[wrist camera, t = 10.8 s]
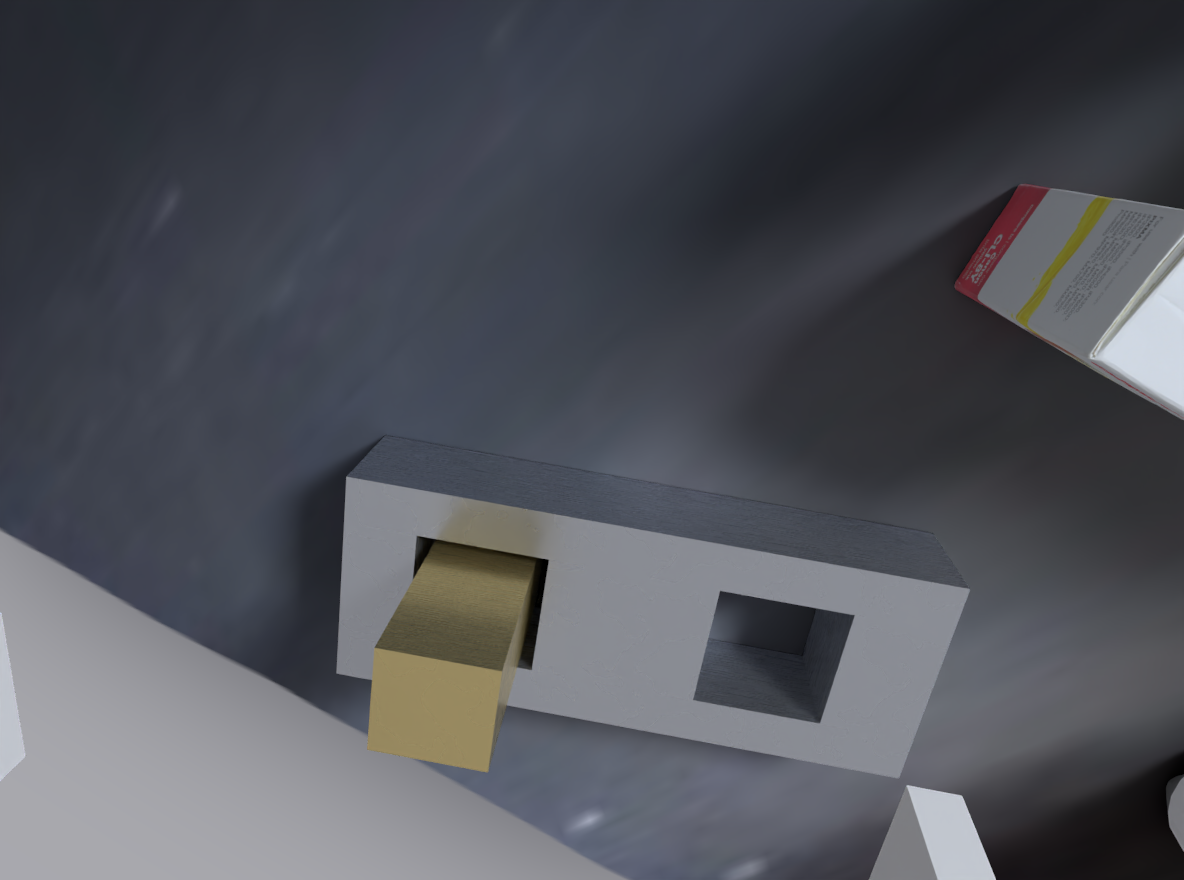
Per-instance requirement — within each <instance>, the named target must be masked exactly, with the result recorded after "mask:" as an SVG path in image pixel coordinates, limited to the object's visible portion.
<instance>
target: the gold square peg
mask: <svg viewBox="0 0 1184 880" xmlns="http://www.w3.org/2000/svg"><path fill="white" fill-rule="evenodd" d="M542 561H543V559H542V558H537V557H531V556H526V555H520V554H515V553H509V552H504V551H498V550H493V549H487V548H482V547H476V546H471V545H465V544H460V543H454V542H449V541H443V540H438V539H436V541H435V542H434V544H433V546H432V548H431V549H430V551H429V553H428V555H427V556H426V558H425V560H424V562H423V563H422V565H421V567H420V569H419V570H418V572H417V574H416V576H415V577H414V579H413V581H412V583H411V584H410V586H409V588H408V590H407V591H406V593H405V595H404V597H403V598H402V600H401V602H400V604H399V605H398V607H397V609H396V611H395V612H394V614H393V616H392V618H391V619H390V621H389V623H388V625H387V626H386V628H385V630H384V632H383V633H382V635H381V637H380V639H379V640H378V642H377V644H376V646H375V647H374V660H373V674H372V688H371V703H370V717H369V731H368V746H367V749H368V750H372V751H377V752H382V753H388V754H393V755H398V756H404V757H409V758H414V759H419V760H425V761H430V762H435V763H441V764H446V765H451V766H457V767H462V768H467V769H473V770H478V771H483V772H488V770H489V767H490V763H491V760H492V756H493V752H494V749H495V745H496V742H497V738H498V735H499V731H500V727H501V724H502V720H503V717H504V713H505V710H506V706H507V702H508V699H509V695H510V692H511V688H512V685H513V681H514V678H515V674H516V670H517V667H518V663H519V660H520V656H521V653H522V649H523V645H524V642H525V638H526V635H527V631H528V628H529V624H530V620H531V617H532V613H533V610H534V606H535V603H536V599H537V594H538V587H539V581H540V574H541V567H542Z"/></svg>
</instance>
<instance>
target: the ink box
mask: <svg viewBox="0 0 1184 880" xmlns="http://www.w3.org/2000/svg"><path fill="white" fill-rule="evenodd" d="M955 289H956V290H957V291H959V292H961V293H962V294H964V295H966V296H968V297H970V298H971V299H973V300H975V301H976V302H978V303H980V304H982V305H983V306H985V307H987V308H989V309H990V310H992V311H994V312H996V313H997V314H999V315H1001V316H1003V317H1004V318H1006V319H1008V320H1009V321H1011V322H1013V323H1014V324H1016V325H1018V326H1019V327H1021V328H1023V329H1024V330H1026V331H1028V332H1029V333H1031V334H1033V335H1034V336H1036V337H1038V338H1040V339H1041V340H1043V341H1045V342H1046V343H1048V344H1050V345H1052V346H1053V347H1055V348H1057V349H1058V350H1060V351H1062V352H1063V353H1065V354H1067V355H1069V356H1070V357H1072V358H1074V359H1075V360H1077V361H1079V362H1081V363H1082V364H1084V365H1086V366H1087V367H1089V368H1091V369H1092V370H1094V371H1096V372H1098V373H1099V374H1101V375H1103V376H1105V377H1106V378H1108V379H1110V380H1112V381H1114V382H1115V383H1117V384H1119V385H1121V386H1123V387H1124V388H1126V389H1128V390H1130V391H1131V392H1133V393H1135V394H1137V395H1139V396H1140V397H1142V398H1144V399H1146V400H1148V401H1149V402H1151V403H1153V404H1155V405H1157V406H1158V407H1160V408H1162V409H1164V410H1166V411H1167V412H1169V413H1171V414H1173V415H1174V416H1176V417H1178V418H1180V419H1182V420H1184V210H1183V209H1177V208H1171V207H1165V206H1160V205H1154V204H1147V203H1141V202H1135V201H1129V200H1123V199H1114V198H1108V197H1102V196H1098V195H1091V194H1085V193H1079V192H1073V191H1067V190H1060V189H1053V188H1047V187H1040V186H1035V185H1029V184H1020V185H1019V186H1018V187H1017V189H1016V191H1015V192H1014V194H1013V196H1012V198H1011V199H1010V201H1009V203H1008V204H1007V205H1006V207H1005V208H1004V210H1003V211H1002V213H1001V214H1000V216H999V217H998V218H997V220H996V221H995V223H994V224H993V226H992V228H991V229H990V231H989V232H988V234H987V235H986V237H985V238H984V240H983V241H982V242H981V244H980V245H979V247H978V249H977V250H976V252H975V253H974V254H973V256H972V258H971V259H970V261H969V262H968V264H967V265H966V267H965V268H964V270H963V271H962V273H961V274H960V276H959V278H958V279H957V281H956V282H955Z"/></svg>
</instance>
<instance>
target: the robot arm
mask: <svg viewBox="0 0 1184 880" xmlns="http://www.w3.org/2000/svg"><path fill="white" fill-rule="evenodd" d="M25 756H26V755H25V749H24V743H23V737H22V731H21V725H20V720H19V713H18V707H17V702H16V696H15V690H14V684H13V678H12V672H11V666H10V660H9V654H8V648H7V642H6V636H5V630H4V624H3V618H2V612H0V781H1V780H2V779H3V778H4V777H5V776H6V775H7V774H8V773H9V772H10V771H11V770H12V769H13V768H14V767H15V766H16V765H17V764H18V763H19V762H20V761H21V760H22V759H24V757H25ZM869 880H996V878H995V876H994V873H993V871H992V868H991V866H990V863H989V861H988V859H987V856H986V854H985V851H984V849H983V846H982V844H981V841H980V839H979V836H978V834H977V831H976V829H975V826H974V824H973V821H972V819H971V817H970V814H969V812H968V809H967V807H966V804H965V802H964V799H963V797H962V796H960V795H955V794H950V793H945V792H940V791H934V790H929V789H924V788H919V787H913V786H908V785H907V786H906V788H905V791H904V793H903V796H902V798H901V801H900V803H899V806H898V808H897V811H896V813H895V816H894V818H893V821H892V823H891V826H890V828H889V831H888V833H887V836H886V838H885V841H884V843H883V846H882V848H881V851H880V853H879V856H878V858H877V861H876V863H875V866H874V868H873V871H872V873H871V876H870V879H869Z"/></svg>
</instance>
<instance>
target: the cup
mask: <svg viewBox="0 0 1184 880" xmlns="http://www.w3.org/2000/svg"><path fill="white" fill-rule="evenodd" d="M1166 799H1167V808H1168V818H1169V827H1170V829H1171V830H1172V832H1173V834H1174V836H1175V837H1176V839H1177V841H1178V842H1179V844H1180V846H1181V848H1182V849H1183V851H1184V774H1183V775H1180V776H1176V777H1174V778H1173V779H1171V780H1169V781H1168V783H1167V786H1166Z"/></svg>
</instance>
